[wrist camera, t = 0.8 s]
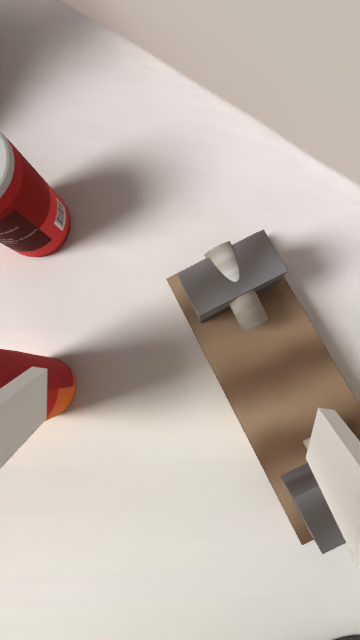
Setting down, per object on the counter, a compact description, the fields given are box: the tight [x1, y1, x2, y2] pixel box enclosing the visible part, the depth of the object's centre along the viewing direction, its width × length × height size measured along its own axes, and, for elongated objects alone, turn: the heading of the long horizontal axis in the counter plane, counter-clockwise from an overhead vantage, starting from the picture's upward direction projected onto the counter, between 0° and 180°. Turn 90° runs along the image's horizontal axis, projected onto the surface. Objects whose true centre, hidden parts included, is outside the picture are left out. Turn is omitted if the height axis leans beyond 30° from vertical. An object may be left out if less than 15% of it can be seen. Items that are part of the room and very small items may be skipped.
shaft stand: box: [167, 230, 360, 554], centre depth 26 cm, size 26×10×7 cm, turn 26°
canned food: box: [0, 132, 70, 257], centre depth 29 cm, size 8×8×11 cm
